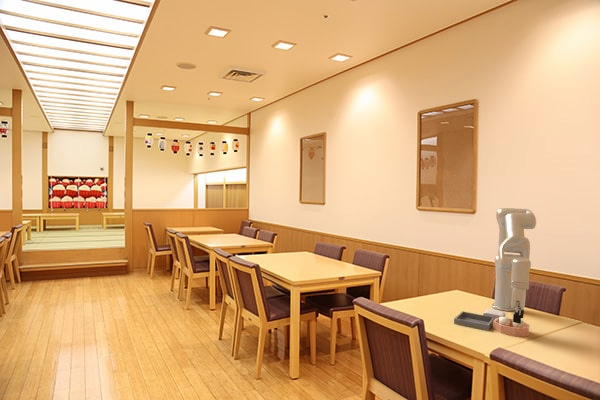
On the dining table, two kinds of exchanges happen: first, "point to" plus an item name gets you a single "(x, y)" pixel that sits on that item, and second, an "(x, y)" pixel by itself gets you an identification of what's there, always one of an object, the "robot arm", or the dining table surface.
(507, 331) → the bowl
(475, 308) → the dining table surface
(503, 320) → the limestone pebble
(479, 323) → the parts tray
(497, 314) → the charger
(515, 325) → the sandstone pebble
